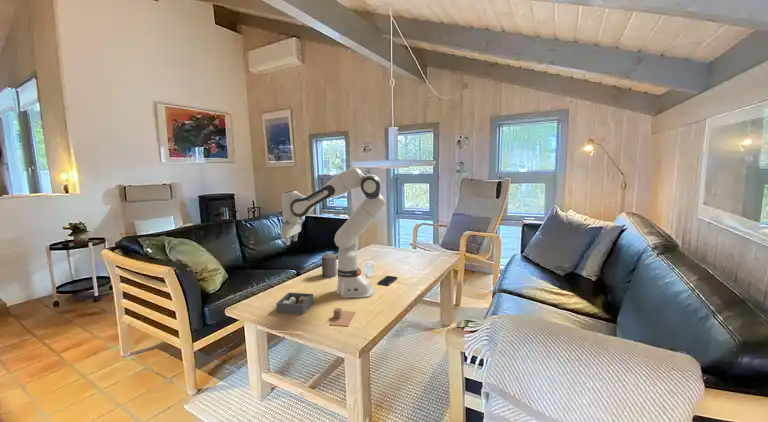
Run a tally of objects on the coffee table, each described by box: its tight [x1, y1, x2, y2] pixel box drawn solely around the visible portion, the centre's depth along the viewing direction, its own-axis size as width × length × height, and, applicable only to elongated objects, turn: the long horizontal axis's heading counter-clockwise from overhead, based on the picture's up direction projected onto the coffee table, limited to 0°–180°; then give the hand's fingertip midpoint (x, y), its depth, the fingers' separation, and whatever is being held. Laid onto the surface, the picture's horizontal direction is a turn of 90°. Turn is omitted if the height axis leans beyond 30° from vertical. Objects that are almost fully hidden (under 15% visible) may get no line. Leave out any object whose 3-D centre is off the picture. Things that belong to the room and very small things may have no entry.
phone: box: [377, 275, 398, 287], centre depth 212 cm, size 8×1×15 cm
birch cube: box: [299, 296, 308, 304], centre depth 176 cm, size 4×4×4 cm
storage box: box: [275, 292, 315, 315], centre depth 173 cm, size 14×14×6 cm
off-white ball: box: [289, 297, 296, 304], centre depth 177 cm, size 4×4×4 cm
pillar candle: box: [321, 253, 338, 279], centre depth 222 cm, size 10×10×15 cm
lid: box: [328, 307, 357, 328], centre depth 162 cm, size 15×15×5 cm
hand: (291, 242), depth 192 cm, fingers open, 8 cm apart
